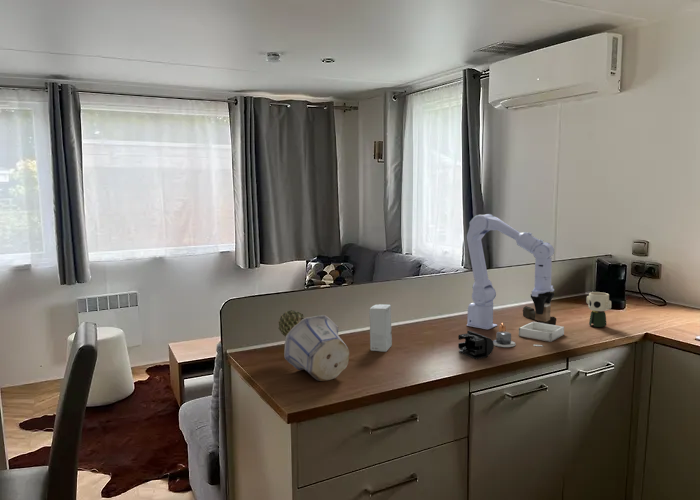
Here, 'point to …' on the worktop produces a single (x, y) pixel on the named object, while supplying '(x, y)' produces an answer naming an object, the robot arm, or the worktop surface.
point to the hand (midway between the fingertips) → (542, 312)
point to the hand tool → (530, 314)
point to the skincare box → (380, 327)
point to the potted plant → (313, 345)
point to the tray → (541, 331)
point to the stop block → (544, 313)
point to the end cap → (475, 345)
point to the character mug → (598, 308)
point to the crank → (503, 335)
